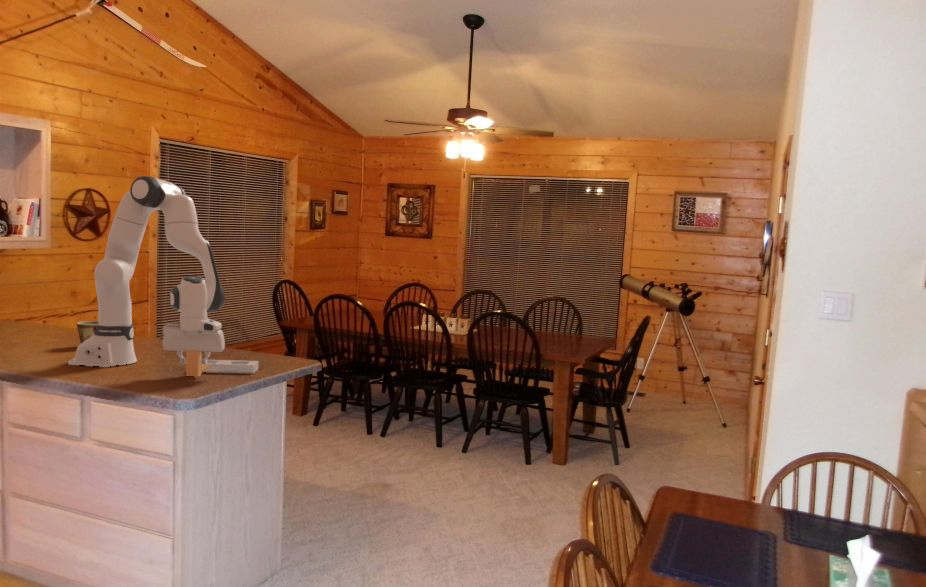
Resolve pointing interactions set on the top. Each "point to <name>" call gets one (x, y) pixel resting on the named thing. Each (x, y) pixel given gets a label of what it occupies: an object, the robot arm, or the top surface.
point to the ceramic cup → (86, 329)
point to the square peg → (193, 363)
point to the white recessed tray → (230, 366)
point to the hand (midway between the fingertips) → (193, 363)
